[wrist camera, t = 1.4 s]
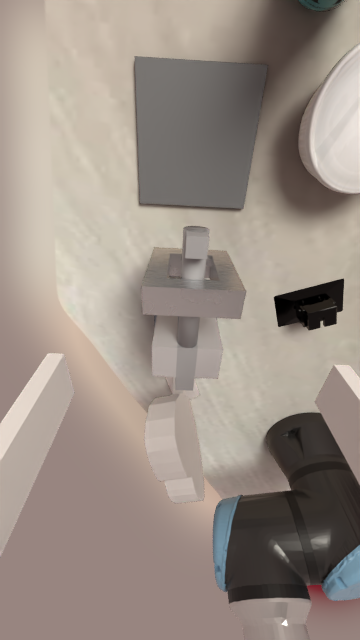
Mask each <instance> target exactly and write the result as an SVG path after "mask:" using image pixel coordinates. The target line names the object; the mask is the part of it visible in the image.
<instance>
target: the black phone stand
mask: <svg viewBox="0 0 360 640" xmlns="http://www.w3.org/2000/svg"><path fill="white" fill-rule="evenodd" d="M343 290H344V279H340V280H336V281H332V282H328V283H325V284H321V285H317V286H313V287H309V288H305V289H301V290H298V291H294V292H290V293H286V294H282V295H278V296H275V297H274V301H275V308H276V315H277V321H278V327H281V326H285V325H289V324H293V323H297V322H300V323H301V324H302V325H303V327H307V329H308V330H313V329H317V328H320V321H323V325H324V326H325V327H326V326H330V325H334V324H337V312H341V311H342V310H343Z"/></svg>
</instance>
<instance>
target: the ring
mask: <svg viewBox="0 0 360 640" xmlns="http://www.w3.org/2000/svg"><path fill="white" fill-rule="evenodd" d="M181 267H182V249H179V248H159V247H154V249H153V252H152V255H151V258H150V261H149V264H148V268H147V271H146V274H145V277H144V280H143V283H142V286H141V288H142V314H143V315H164V316H186V317H208V318H230V319H241V314H242V310H243V305H244V300H245V295H246V290H245V288H244V285H243V283H242V281H241V279H240V277H239V275H238V273H237V271H236V269H235V267H234V265H233V263H232V261H231V259H230V256H229V254H228V252H227V251H218V250H208V254H207V259H206V267H205V276H204V278H210V280H197V279H176V278H169V276H181Z"/></svg>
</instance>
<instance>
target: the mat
mask: <svg viewBox="0 0 360 640" xmlns="http://www.w3.org/2000/svg"><path fill="white" fill-rule="evenodd" d="M267 68H268V65H262V64H246V63H231V62H215V61H200V60H184V59H169V58H154V57H138V56H135V79H136V107H137V136H138V164H139V192H140V203H146V204H165V205H184V206H202V207H221V208H240V209H243V208H244V202H245V196H246V191H247V185H248V179H249V173H250V167H251V161H252V156H253V150H254V144H255V138H256V132H257V126H258V121H259V115H260V109H261V103H262V97H263V91H264V86H265V80H266V74H267Z"/></svg>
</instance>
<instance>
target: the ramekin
mask: <svg viewBox="0 0 360 640" xmlns="http://www.w3.org/2000/svg"><path fill="white" fill-rule="evenodd" d="M298 143H299V145H298V148H299V154H300V157H301V160H302V162H303V164H304V166H305V167H306V169H307V171H308V172H309V173H310V174H311V175H312V176H314V177H315V178H316V179H318V181H319V182H321V183H322V184H323V185H324V186H325V187H327V188H329V189H331V190H333V191H336V192H339V193H345V194H360V43H358V44H357V45H356V46H354V47H353V48H352V49H351V50H349V51H348V52H347V53H346V54H345V55H344V56H343V57H342V58H341V59H340V60H339V61H338V63H337V64H336V65H335V66H334V67H333V68H332V70H331V71H330V73H329V74H328V75H327V77H326V78H325V80H324V81H323V83H322V84H321V85H320V86H319V88H318V89H317V90H316V92H315V93H314V95H313V97H312V98H311V99H310V101H309V103H308V106H307V107H306V109H305V113H304V115H303V117H302V121H301V124H300V131H299V140H298Z"/></svg>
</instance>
